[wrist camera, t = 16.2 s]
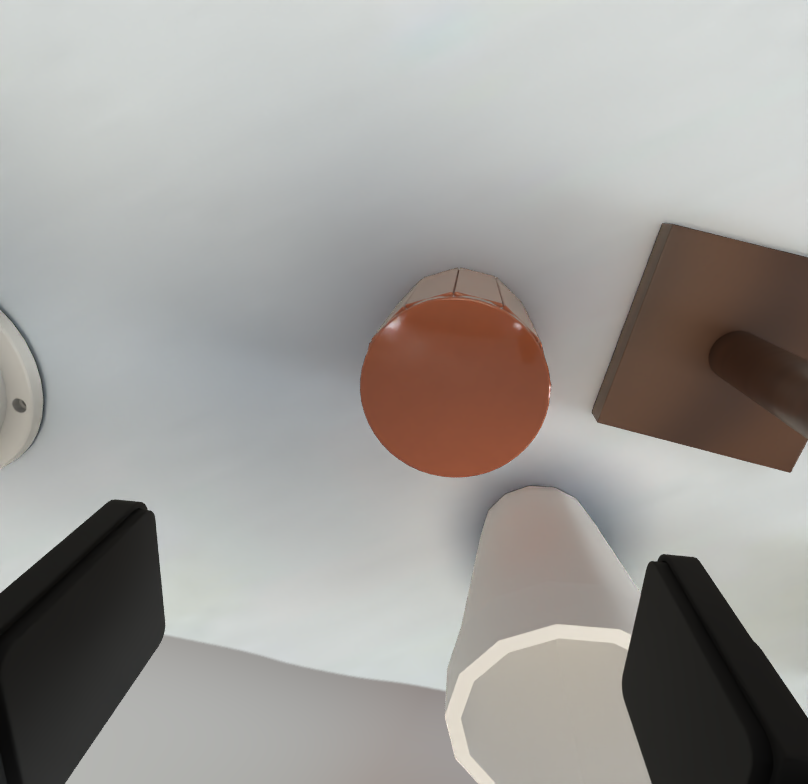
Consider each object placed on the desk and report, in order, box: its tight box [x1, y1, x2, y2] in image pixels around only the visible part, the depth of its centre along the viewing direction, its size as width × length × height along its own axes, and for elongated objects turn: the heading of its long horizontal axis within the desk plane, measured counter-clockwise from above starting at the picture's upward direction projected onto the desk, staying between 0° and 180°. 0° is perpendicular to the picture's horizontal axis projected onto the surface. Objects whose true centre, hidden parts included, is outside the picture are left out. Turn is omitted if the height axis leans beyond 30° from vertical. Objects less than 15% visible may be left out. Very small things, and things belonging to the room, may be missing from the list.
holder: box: [592, 223, 808, 473], centre depth 22 cm, size 10×10×15 cm
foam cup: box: [445, 486, 652, 784], centre depth 27 cm, size 10×9×13 cm
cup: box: [360, 268, 551, 477], centre depth 26 cm, size 7×7×9 cm
